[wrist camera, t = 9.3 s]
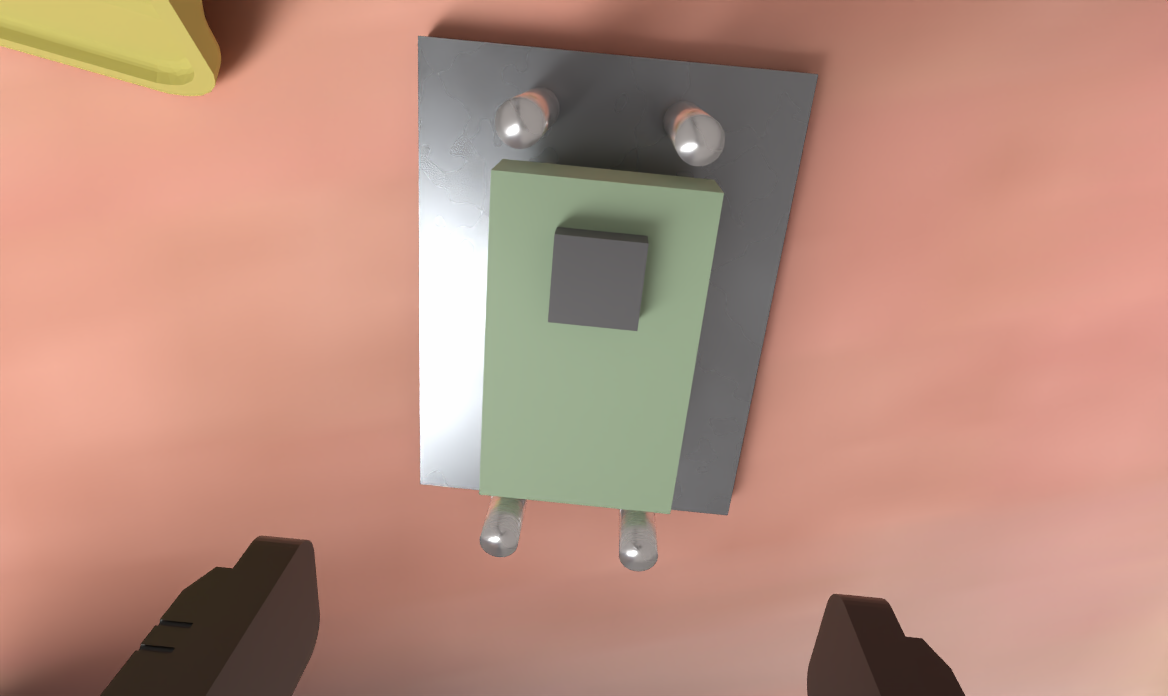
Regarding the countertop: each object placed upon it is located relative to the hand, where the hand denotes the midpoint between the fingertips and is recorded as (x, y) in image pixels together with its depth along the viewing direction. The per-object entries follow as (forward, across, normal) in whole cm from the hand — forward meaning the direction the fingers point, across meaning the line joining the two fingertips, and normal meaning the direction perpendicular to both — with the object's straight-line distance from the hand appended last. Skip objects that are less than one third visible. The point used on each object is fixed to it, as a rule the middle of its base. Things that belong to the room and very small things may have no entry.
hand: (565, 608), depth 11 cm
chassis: (+15, 0, 0) cm, 15 cm away
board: (+12, 0, 0) cm, 12 cm away
